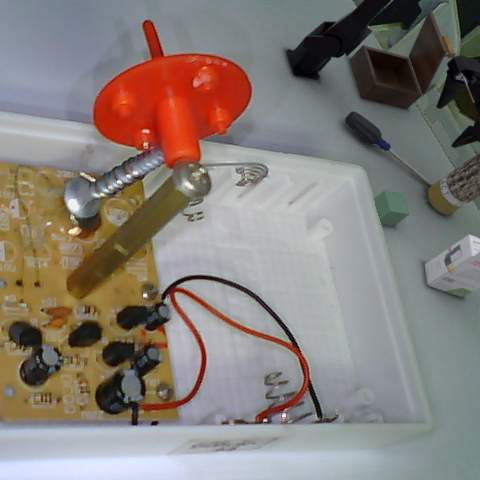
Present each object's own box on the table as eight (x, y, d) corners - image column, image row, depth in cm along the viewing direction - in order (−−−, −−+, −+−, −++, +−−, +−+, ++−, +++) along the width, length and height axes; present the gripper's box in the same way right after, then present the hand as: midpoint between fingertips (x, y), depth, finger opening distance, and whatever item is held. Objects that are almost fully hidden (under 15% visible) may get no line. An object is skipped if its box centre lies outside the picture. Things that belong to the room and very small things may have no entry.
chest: (361, 98, 165) (375, 84, 161) (349, 59, 170) (363, 44, 166) (406, 109, 170) (422, 95, 166) (394, 71, 175) (408, 57, 171)
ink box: (459, 276, 151) (519, 239, 139) (462, 298, 148) (524, 263, 137) (423, 262, 148) (481, 224, 137) (425, 285, 145) (485, 248, 134)
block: (374, 223, 147) (390, 211, 144) (368, 202, 150) (384, 190, 146) (393, 226, 149) (409, 214, 146) (387, 205, 152) (403, 193, 148)
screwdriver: (443, 190, 162) (456, 180, 159) (440, 201, 160) (454, 192, 157) (342, 117, 159) (354, 105, 156) (338, 127, 157) (350, 116, 154)
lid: (444, 50, 154) (468, 49, 155) (428, 10, 159) (453, 9, 160) (421, 94, 166) (445, 92, 167) (408, 56, 171) (430, 54, 172)
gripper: (558, 125, 138) (491, 173, 150) (521, 44, 147) (460, 95, 159) (514, 115, 133) (448, 165, 145) (478, 31, 142) (419, 86, 154)
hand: (445, 127), depth 151 cm, fingers open, 9 cm apart
